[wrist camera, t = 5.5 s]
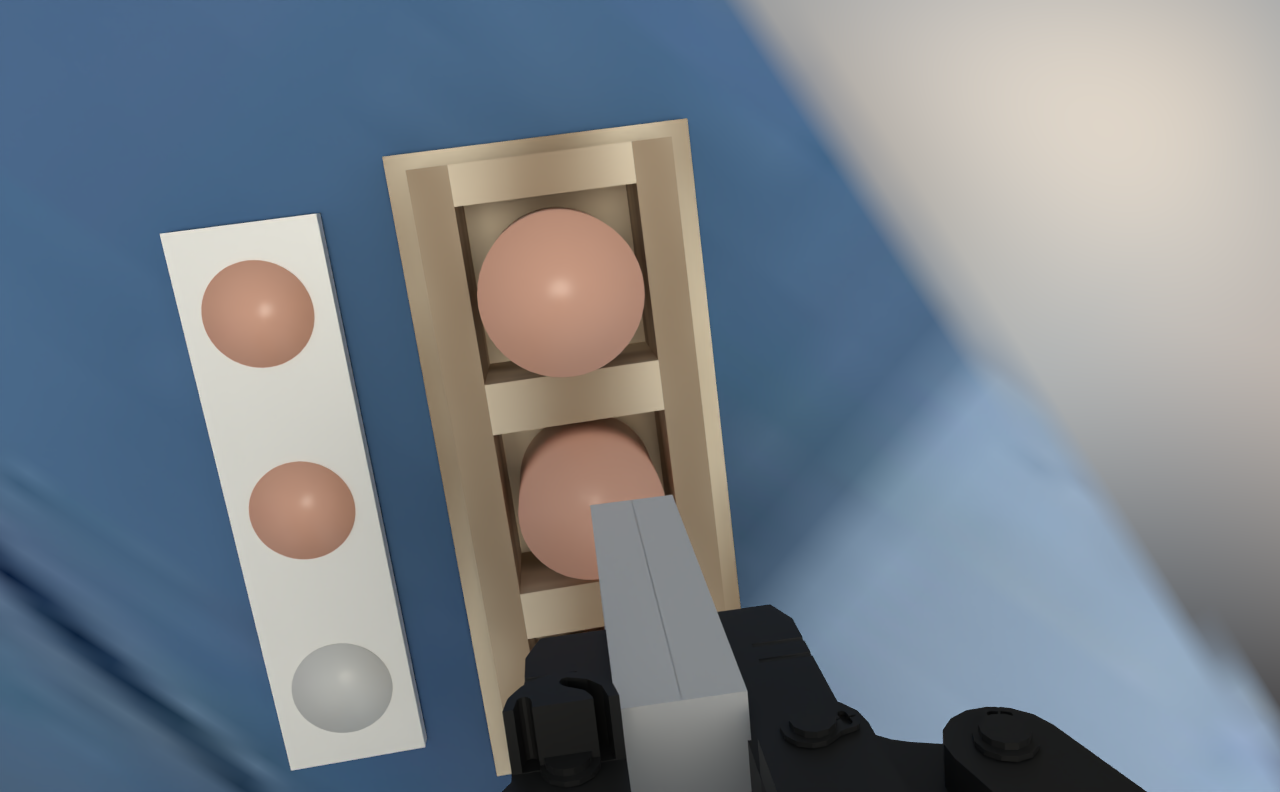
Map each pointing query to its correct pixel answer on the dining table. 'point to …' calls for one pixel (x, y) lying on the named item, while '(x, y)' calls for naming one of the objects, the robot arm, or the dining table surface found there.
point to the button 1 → (560, 292)
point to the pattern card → (298, 484)
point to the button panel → (528, 402)
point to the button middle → (579, 488)
